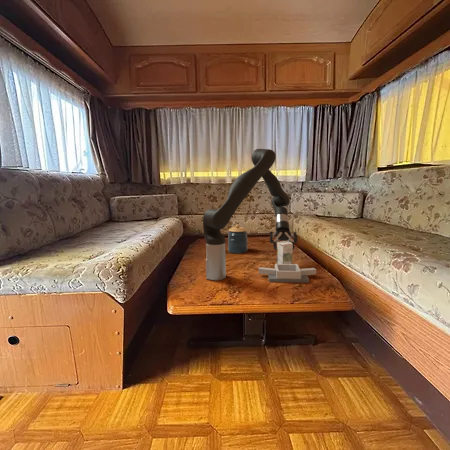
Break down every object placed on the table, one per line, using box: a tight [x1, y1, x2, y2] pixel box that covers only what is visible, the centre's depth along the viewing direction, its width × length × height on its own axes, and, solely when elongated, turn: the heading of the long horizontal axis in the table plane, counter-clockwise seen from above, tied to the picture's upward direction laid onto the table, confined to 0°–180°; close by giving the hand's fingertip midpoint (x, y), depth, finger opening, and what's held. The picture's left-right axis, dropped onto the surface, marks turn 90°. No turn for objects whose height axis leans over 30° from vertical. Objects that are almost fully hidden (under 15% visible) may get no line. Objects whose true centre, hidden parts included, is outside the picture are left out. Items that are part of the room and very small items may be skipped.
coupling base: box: [258, 263, 317, 284], centre depth 133 cm, size 27×12×5 cm, turn 85°
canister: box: [227, 223, 249, 254], centre depth 181 cm, size 13×13×18 cm
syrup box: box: [276, 240, 294, 264], centre depth 144 cm, size 6×6×14 cm
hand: (284, 249), depth 146 cm, fingers open, 8 cm apart
